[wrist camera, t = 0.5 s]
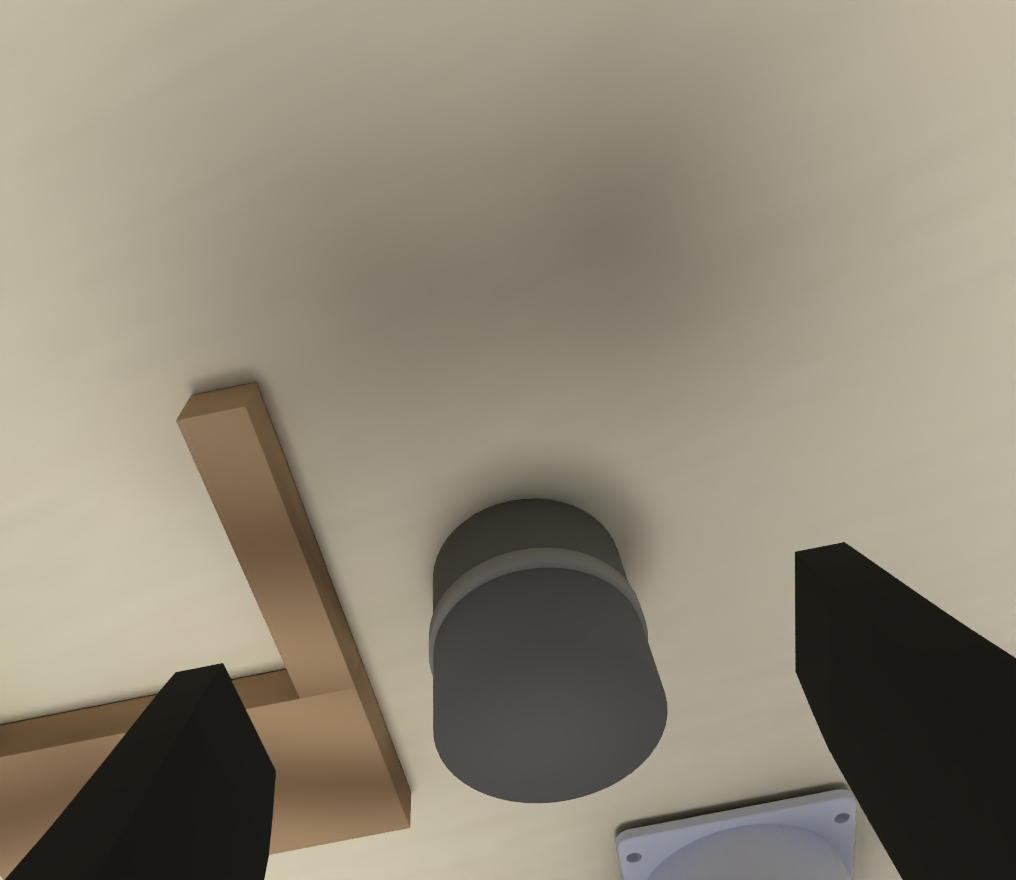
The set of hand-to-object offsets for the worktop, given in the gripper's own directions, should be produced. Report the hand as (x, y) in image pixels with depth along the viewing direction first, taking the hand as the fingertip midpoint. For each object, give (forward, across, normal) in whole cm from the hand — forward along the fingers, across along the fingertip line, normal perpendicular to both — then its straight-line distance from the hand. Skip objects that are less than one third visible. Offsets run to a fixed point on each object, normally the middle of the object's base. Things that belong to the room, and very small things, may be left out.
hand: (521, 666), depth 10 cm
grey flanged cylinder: (+9, 0, +6) cm, 11 cm away
